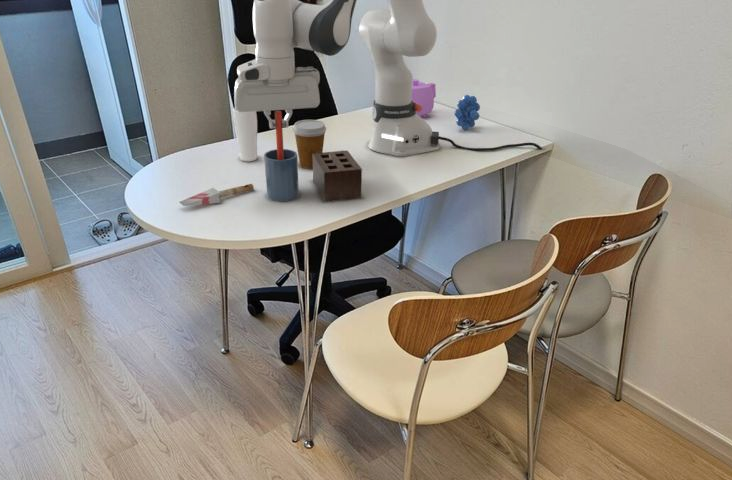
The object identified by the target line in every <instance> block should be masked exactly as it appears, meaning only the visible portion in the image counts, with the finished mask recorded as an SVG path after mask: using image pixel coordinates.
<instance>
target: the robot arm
mask: <svg viewBox="0 0 732 480" xmlns="http://www.w3.org/2000/svg"><path fill="white" fill-rule="evenodd" d="M387 3H388V6H389V9H387V8H380V9H372V10H369V11H367V12H366V13H365V14H364V15H363V16H362V18H361V20H360V21H359V22H360V23H359V29H358V30H359V31H358V32H359V38H360V39H361V41H362V42H363V44H364V45H365V47H366V48H367V50H368V52H369V55H370V58H371V61H372V65H373V70H374V83H375V84H374V100H373V106H372V120H373V122H372V128H371V134H370V137H369V142H368V143H367V147H368V149H370V150H371V151H374V152H377V153H380V154H386V155H391V156H395V157H406V156H411V155H416V154H423V153H428V152H433V151H438V150H440V143H439V141H440V140H441V141H444V142H445V141H446V142H449V143H450V144H451V145H452V146H453V147H454V148H456V149H460V150H466V151H473V152H490V151H491V152H492V151H498V150H502V149H508V148H517V147H525V146H532V147H535V148H537V149H538V150H540V151H542V150H543V148H542V147H541V146H540V145H539V144H538V143H535V142H522V143H512V144H510V143H509V144H505V145H500V146H495V147H466V146H461V145H459V144H456V142H454V140H452V139H451V138H448V137H444V136H440V132H439V131H434V130H432V127H431V125H430V124H429V122H427V121H426V120H425V119H424V118H423V117H421V116H420V115H417V114H416V111H417V112H421V111H420V110H422V107H421V106H420V105H419V104H416V103H414V102H413V101H411V97H412V83H413V79H414V77H413V74H412V73H413V72H412V71H411V70H410V69H409V68H408V66H407V64H406V62H405V60H404V57H407V58H408V57H409V58H416V57H418V58H419V57H424V56H427V55H428V54H430V53H431V51H433V49H434V47H435V45H436V41H437V37H438V36H437V33H438V31H437V26H436V24H435V23H434V21H433V20H432V19H431V17H430V16H429V15H428V12H427V10H426V8H425V5H424V2H423V0H387ZM356 4H357V0H328V2H326V3H325V4H322V5H321V4H313V3H307V2H303V1H301V0H253V6H252V28H253V37H254V38H255V44H256V47H255V52H254V54H255V58H254V59H252V60H249V61H247V62H245V63H242V64H240V65H238V66H237V68H236V74H237V78H236V79H235V82H234V89H233V95H234V96H233V100H234V107H235V108H236V110H237V111H238V112H256V113H257V112H263V114H264V117H266V119H267V120H268V127H269V130H273V129H274V130H275V129H276V121H275V119H272V118H271V115H272V111H285V113H286V114H285V116H284V118H282V129H287V128H289V122H290V119H291V118H292V116H293V110H300V109H315V108H317V107H319V105H320V103H321V99H320V89H319V84H320V82H321V76H320V71H319V70H318V69H317V68H314V66H306V67H305V66H296V65H295V63H296V61H295V51H294V48H299V49H302V50H308V51H312V52H316V53H318V54H322V55H324V56H325V55H326V56H328V57H330V56H335V55H337V54H339V53H340V52H342V50H343V49H344V48H345V47H346V45H347V44H348V42H349V39H350V36H351V30H352V20H353V16H354V11H355V8H356ZM403 56H404V57H403Z"/></svg>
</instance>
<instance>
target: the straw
mask: <svg viewBox="0 0 732 480" xmlns="http://www.w3.org/2000/svg"><path fill="white" fill-rule="evenodd" d="M282 114H283V112H282V110H274V120H275V121H276V128H275V138H276V140H275V141H276V149H277V158H278V160H284V151H283V149H284V134H283V128H282V119H283V115H282Z"/></svg>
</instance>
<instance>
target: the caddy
mask: <svg viewBox="0 0 732 480" xmlns="http://www.w3.org/2000/svg"><path fill="white" fill-rule="evenodd" d="M312 157H313V168H312V182H313V184H314V186H315V187H316V189H317V191H318V193H319V195H320V197H321V198H322V200H323V201H324V203H328V202H329V203H330V202H337V201H347V200H355V199H356V200H357V199H362V185H363V184H362V181H363V178H362V177H363V168H362V167H361V166H360V164H359V163H358V162H357V161H356V159H355V158H354V156H352V155H351V153H350V152H349V150H338V151H335V150H334V151H327V152H323V153H313V154H312Z"/></svg>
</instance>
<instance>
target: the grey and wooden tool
mask: <svg viewBox="0 0 732 480" xmlns="http://www.w3.org/2000/svg"><path fill="white" fill-rule="evenodd" d="M254 189H255V188H254V184H253V183H248V184H245V185H240V186H236V187H231V188H227V189H223V190H217V189H216V188H215V187H212V188H210V189H207V190H205V191H202V192H200V193H197V194H195V195H192V196H190V197H187V198H185V199H183V200H180V201H178V203H179V204H181V205H182V206H183V207H187V206H188V207H189V206H200V205H201V206H202V205H210V204H211V205H213V204H221V203H222V201H221V199H223V198H227V197H228V198H229V197H232V196H235V195H239V194H244V193H246V192H251V191H254Z"/></svg>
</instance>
